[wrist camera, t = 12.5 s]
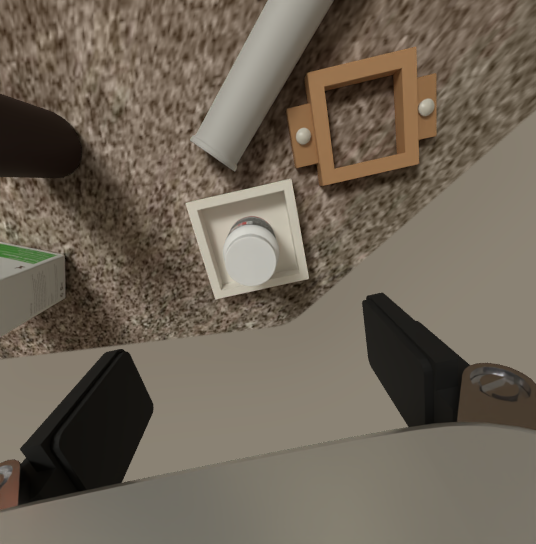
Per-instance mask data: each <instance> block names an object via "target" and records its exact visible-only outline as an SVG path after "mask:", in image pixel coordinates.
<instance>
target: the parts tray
mask: <svg viewBox="0 0 536 544" xmlns="http://www.w3.org/2000/svg"><path fill="white" fill-rule="evenodd" d="M186 207H187V210H188V213H189V216H190V219H191V223H192V226H193V229H194V232H195V236H196V239H197V242H198V245H199V248H200V252H201V255H202V258H203V261H204V264H205V268H206V271H207V274H208V277H209V280H210V284H211V287H212V290H213V293H214V296H215V299H219V298H224V297H229V296H233V295H238V294H242V293H247V292H251V291H256V290H261V289H265V288H270V287H274V286H279V285H283V284H288V283H293V282H297V281H302V280H306V279H309V276H308V270H307V264H306V259H305V253H304V247H303V242H302V236H301V230H300V225H299V219H298V214H297V208H296V202H295V197H294V191H293V185H292V180H291V179H287V180H283V181H278V182H274V183H270V184H265V185H261V186H257V187H252V188H248V189H244V190H239V191H235V192H231V193H226V194H222V195H218V196H213V197H209V198H204V199H200V200H196V201H191V202H188V203H186ZM248 216H256V217H260V218H262V219H264V220H265V221H267V222H268V223H269V224H270V225H271V227H272V229H273V231H274V234H275V236H276V239H277V242H278V245H279V260H278V263H277V265H276V269H275V271H274V273H273V275H272V276H271V278H270V279H269V280H267V281H266V282H265V283H263V284H260V285H257V286H245V285H241V284H239V283H237V282H236V281H234V280H233V279H232V278H231V277H230V276H229V274H228V272H227V270H226V267H225V261H224V258H223V247H224V243H225V240H226V238H227V236H228V234H229V232H230V230H231V228H232V226H233V225H234V224H235V223H236V222H237V221H238V220H240V219H241V218H244V217H248Z"/></svg>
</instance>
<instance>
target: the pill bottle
mask: <svg viewBox="0 0 536 544" xmlns="http://www.w3.org/2000/svg"><path fill="white" fill-rule="evenodd" d="M223 258H224V261H225V267H226V270H227V272H228V274H229V276H230V277H231V278H232V279H233V280H234V281H236V282H237V283H239V284H241V285H245V286H257V285H260V284H263V283H265V282H266V281H267V280H269V279H270V278H271V276H272V275H273V273H274V271H275V269H276V265H277V263H278V260H279V245H278V242H277V239H276V236H275V234H274V231H273V229H272V227H271V225H270V224H269V223H268V222H267V221H265V220H264V219H262V218H260V217H256V216H248V217H244V218H241V219H240V220H238V221H237V222H236V223H235V224H234V225H233V226H232V228H231V230H230V232H229V234H228V236H227V238H226V240H225V243H224V247H223Z"/></svg>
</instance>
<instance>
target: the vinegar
mask: <svg viewBox="0 0 536 544" xmlns="http://www.w3.org/2000/svg"><path fill="white" fill-rule="evenodd" d="M80 160H81V145H80V141H79V138H78V136H77V134H76V133H75V131H74V129H73V128H72V126H71V125H70V124H69V123H68V122H67V121H66V120H65V119H63V118H62V117H60V116H59V115H57V114H55V113H54V112H51V111H48V110H46V109H43V108H40V107H37V106H34V105H31V104H28V103H25V102H23V101H20V100H17V99H14V98H11V97H8V96H5V95H2V94H0V177H30V178H60V177H65V176H67V175H69V174H71V173H73V172H74V170H75V169H76V168H77V167H78V165H79V163H80Z"/></svg>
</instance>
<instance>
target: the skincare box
mask: <svg viewBox="0 0 536 544" xmlns="http://www.w3.org/2000/svg"><path fill="white" fill-rule="evenodd" d="M65 297H66V296H65V256H64V255H63V254H58V253H52V252H48V251H44V250H39V249H34V248H28V247H23V246H18V245H13V244H9V243H4V242H0V337H2V336H3V335H5V334H7V333H8V332H10V331H11V330H13V329H15V328H16V327H18V326H20V325H21V324H23V323H25V322H26V321H28V320H30V319H31V318H33V317H35V316H36V315H38V314H40V313H41V312H43V311H45V310H46V309H48V308H50V307H51V306H53V305H55V304H56V303H58V302H60V301H61V300H63V299H65Z"/></svg>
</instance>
